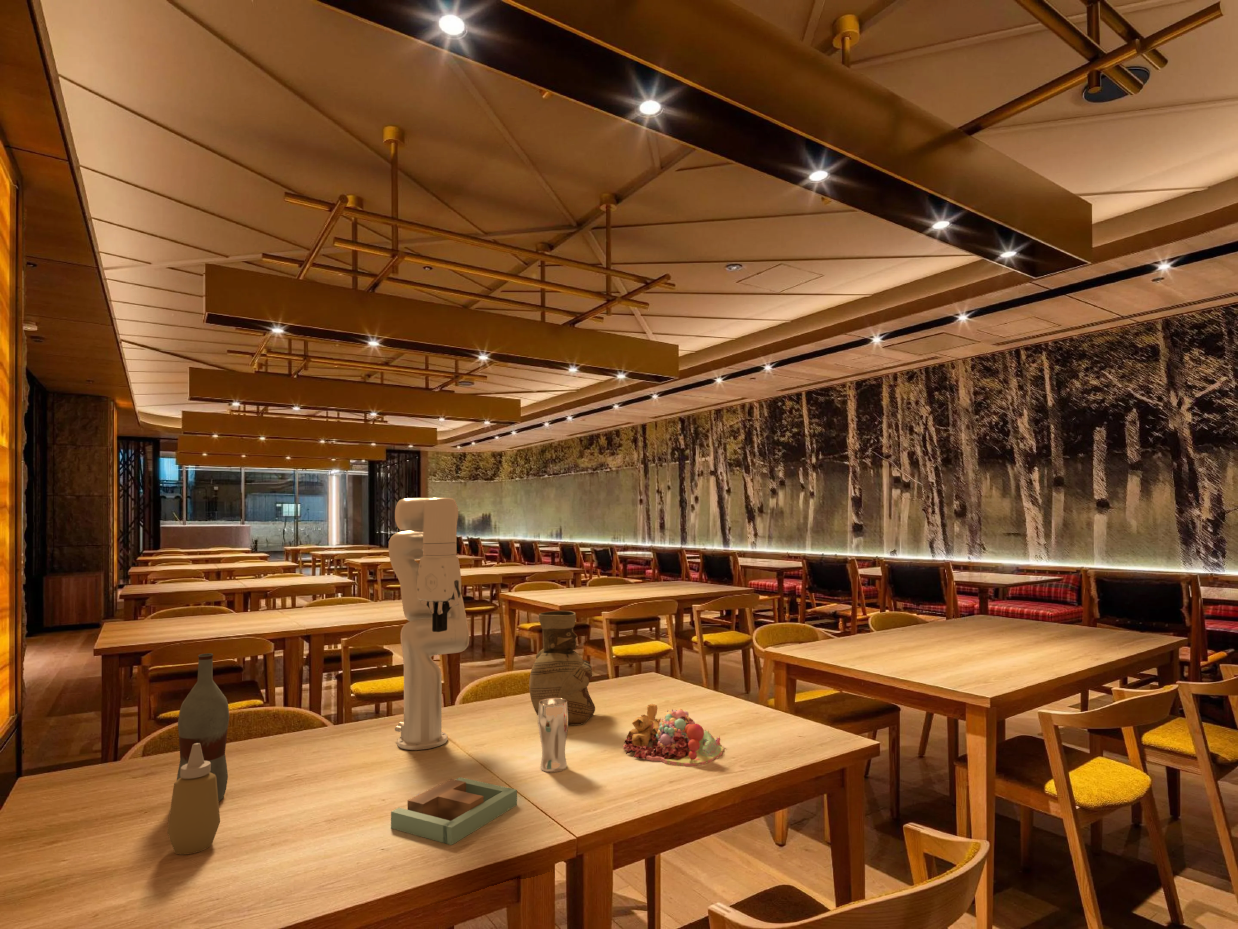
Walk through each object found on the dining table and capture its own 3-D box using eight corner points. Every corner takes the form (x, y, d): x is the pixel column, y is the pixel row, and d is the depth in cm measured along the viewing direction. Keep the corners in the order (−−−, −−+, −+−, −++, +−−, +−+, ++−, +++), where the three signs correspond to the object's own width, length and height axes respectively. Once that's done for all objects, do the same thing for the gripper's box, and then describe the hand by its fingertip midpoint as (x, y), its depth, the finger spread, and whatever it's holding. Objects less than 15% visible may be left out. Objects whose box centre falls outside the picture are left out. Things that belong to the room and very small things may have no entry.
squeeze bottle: (182, 838, 126) (185, 738, 127) (228, 836, 127) (230, 736, 128) (156, 860, 118) (159, 752, 119) (205, 857, 119) (208, 750, 120)
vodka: (172, 813, 137) (177, 660, 139) (177, 797, 145) (181, 653, 148) (226, 803, 141) (230, 655, 144) (228, 788, 150) (231, 648, 152)
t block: (407, 821, 132) (407, 800, 132) (451, 798, 142) (451, 778, 142) (454, 834, 126) (454, 812, 126) (496, 809, 136) (496, 789, 137)
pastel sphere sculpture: (609, 759, 165) (609, 719, 165) (642, 730, 186) (641, 695, 187) (711, 771, 156) (710, 729, 156) (733, 739, 177) (732, 702, 178)
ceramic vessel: (614, 716, 199) (612, 611, 201) (558, 733, 184) (556, 619, 186) (572, 704, 212) (570, 606, 215) (516, 719, 198) (515, 613, 200)
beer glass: (564, 774, 154) (563, 705, 156) (534, 772, 156) (533, 704, 157) (572, 763, 161) (571, 697, 162) (543, 761, 163) (543, 697, 164)
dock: (390, 828, 129) (391, 811, 129) (460, 791, 145) (460, 777, 146) (451, 845, 122) (451, 827, 122) (517, 805, 138) (516, 789, 138)
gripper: (404, 551, 160) (403, 631, 158) (453, 552, 152) (453, 635, 151) (427, 549, 166) (427, 626, 165) (475, 550, 159) (475, 630, 158)
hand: (439, 630), depth 158 cm, fingers closed
